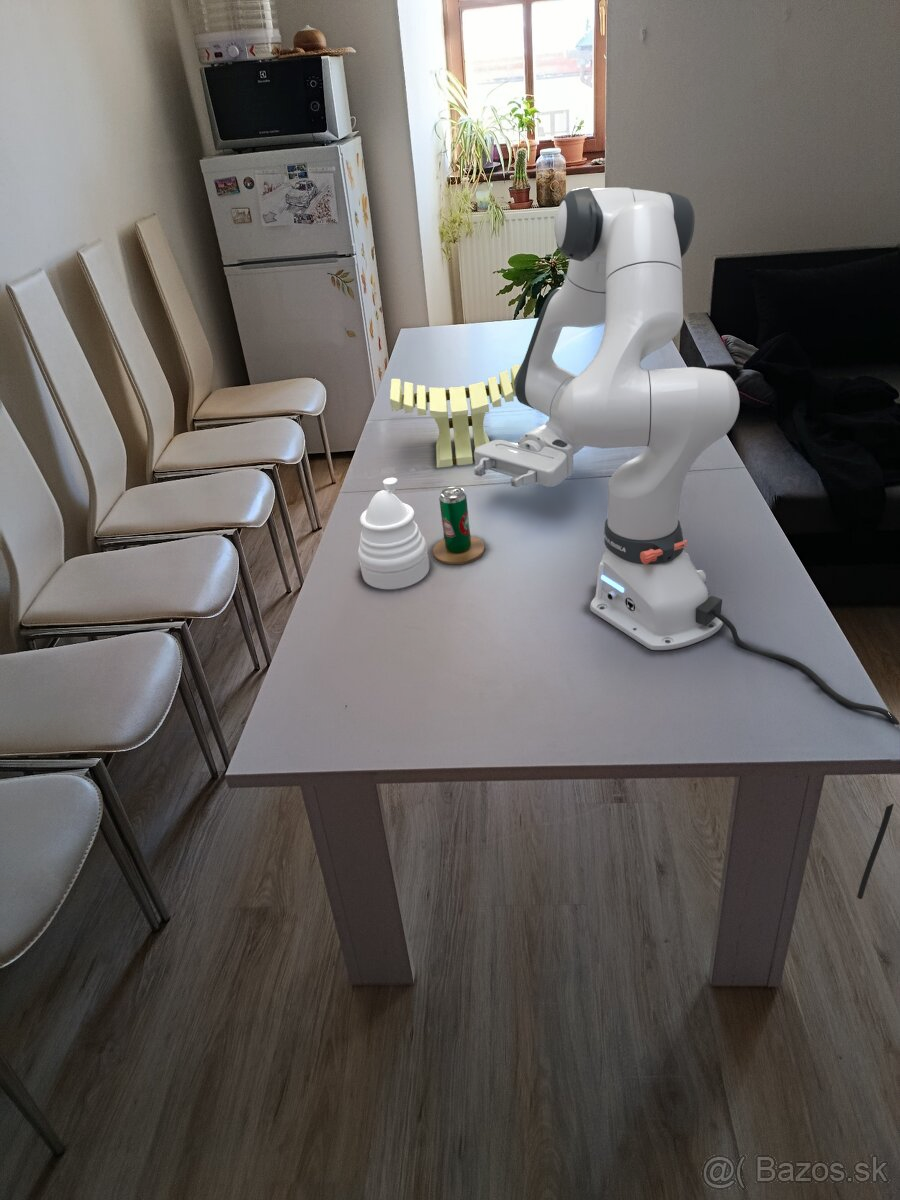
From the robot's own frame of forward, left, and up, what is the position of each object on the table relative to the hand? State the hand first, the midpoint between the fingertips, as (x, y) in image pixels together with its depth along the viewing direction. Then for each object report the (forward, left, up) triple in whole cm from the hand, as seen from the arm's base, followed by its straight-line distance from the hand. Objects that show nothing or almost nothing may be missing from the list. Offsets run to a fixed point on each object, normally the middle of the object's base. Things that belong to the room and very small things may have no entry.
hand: (494, 478), depth 154 cm
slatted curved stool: (+37, -8, -11) cm, 39 cm away
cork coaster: (-5, +11, -10) cm, 16 cm away
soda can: (-5, +11, -10) cm, 16 cm away
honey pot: (-5, +24, -11) cm, 27 cm away
